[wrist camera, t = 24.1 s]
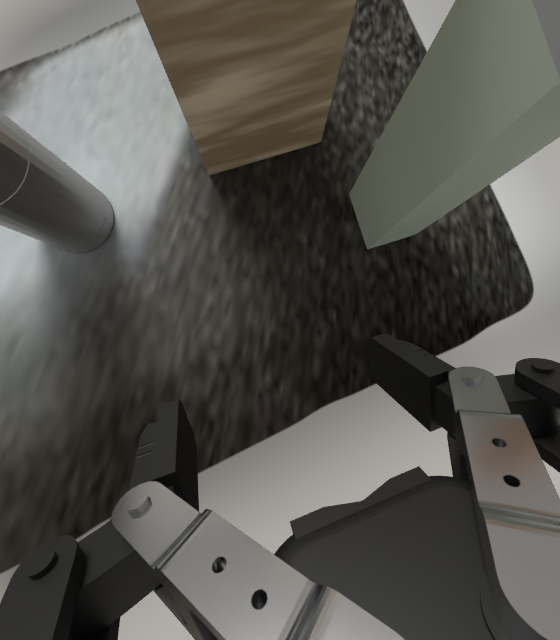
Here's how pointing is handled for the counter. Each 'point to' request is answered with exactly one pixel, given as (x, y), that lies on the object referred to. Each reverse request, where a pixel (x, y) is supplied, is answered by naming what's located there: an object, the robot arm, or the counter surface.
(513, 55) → the grooved green pillar
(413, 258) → the counter surface
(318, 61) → the stand
